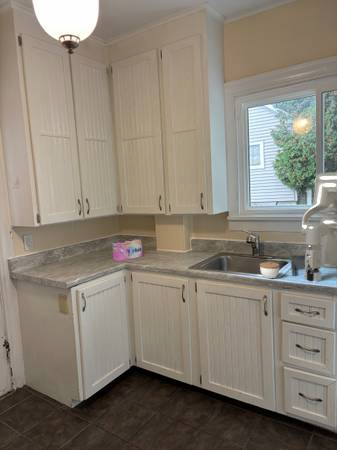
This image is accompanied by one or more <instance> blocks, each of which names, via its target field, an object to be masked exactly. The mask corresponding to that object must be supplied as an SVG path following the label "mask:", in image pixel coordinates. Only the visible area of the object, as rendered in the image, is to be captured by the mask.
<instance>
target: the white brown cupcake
mask: <svg viewBox="0 0 337 450" xmlns="http://www.w3.org/2000/svg"><path fill="white" fill-rule="evenodd" d="M259 268H260V269H259V270H260V274H261V275H262V277H263V278H264V277H265V278H264V279H266V278H274V279H276V277H277V276H279V272H280V264H279V263H277V262H271V261H267V262H261V263H260V264H259Z"/></svg>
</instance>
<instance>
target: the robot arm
mask: <svg viewBox="0 0 337 450" xmlns="http://www.w3.org/2000/svg"><path fill="white" fill-rule="evenodd" d="M321 211H322V212H323V213H324V214H325V215H328V216H323V217H322V218H321V219H320V221H319V222H311V221H310V222H309V220H310V218H311V217H312V216H313V215H315V214H317V213H319V212H321ZM329 215H330V216H329ZM331 215H332V216H331ZM334 215H335V216H334ZM336 215H337V171H336V172H334V171H331V172H320V173H317V174H316V175H315V185H314V192H313V200H312V205H311V206H310V207H308V209H307V210H306V211H305V212H304V214H303V215H302V217H301V224H300V232H301V234H302V235H304V236H305V254H304V255H305V270H304V271H306V273H307V280H306V281H309V282H313V274H312V271H313V270H317V271H320V268H321V267H323V266H324V267H325V268H337V234H336V232H337V216H336ZM309 267H310V268H309ZM324 267H323V268H324ZM309 269H311V271H310V270H309Z"/></svg>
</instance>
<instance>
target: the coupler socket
mask: <svg viewBox="0 0 337 450" xmlns="http://www.w3.org/2000/svg"><path fill="white" fill-rule="evenodd" d="M290 255H291V256H290V258H291V259H290V264H291V265H290V268H291V270H292V271H291V276H292V277H296V270H303V269H305V254H290ZM309 268H310V267H309Z"/></svg>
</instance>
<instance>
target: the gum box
mask: <svg viewBox="0 0 337 450" xmlns="http://www.w3.org/2000/svg"><path fill="white" fill-rule="evenodd" d="M111 244H112V258H113V260H114V261H116V262H121V261H126V260H131V259H135V258H140V257H143V255H144V254H143V243H142V239H138V238H132V239H127V240H120V241H116V242H111Z"/></svg>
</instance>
